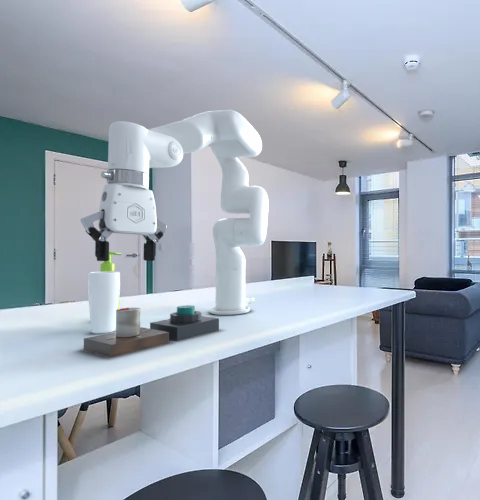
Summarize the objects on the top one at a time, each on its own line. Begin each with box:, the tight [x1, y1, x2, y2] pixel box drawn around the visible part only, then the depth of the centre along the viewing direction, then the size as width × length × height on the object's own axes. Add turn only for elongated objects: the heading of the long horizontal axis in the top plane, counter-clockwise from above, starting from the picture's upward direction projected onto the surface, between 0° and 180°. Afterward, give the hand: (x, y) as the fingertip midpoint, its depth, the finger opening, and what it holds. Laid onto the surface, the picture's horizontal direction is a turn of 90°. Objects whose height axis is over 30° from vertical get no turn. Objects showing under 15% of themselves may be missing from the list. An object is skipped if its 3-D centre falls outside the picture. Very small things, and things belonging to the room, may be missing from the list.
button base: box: [149, 310, 220, 342], centre depth 87 cm, size 12×10×5 cm
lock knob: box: [115, 307, 141, 337], centre depth 74 cm, size 4×4×6 cm
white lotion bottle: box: [86, 271, 121, 335], centre depth 88 cm, size 7×7×15 cm
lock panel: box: [83, 326, 170, 358], centre depth 74 cm, size 12×10×3 cm
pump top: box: [176, 304, 196, 315], centre depth 87 cm, size 4×4×2 cm
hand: (127, 260), depth 75 cm, fingers open, 9 cm apart
